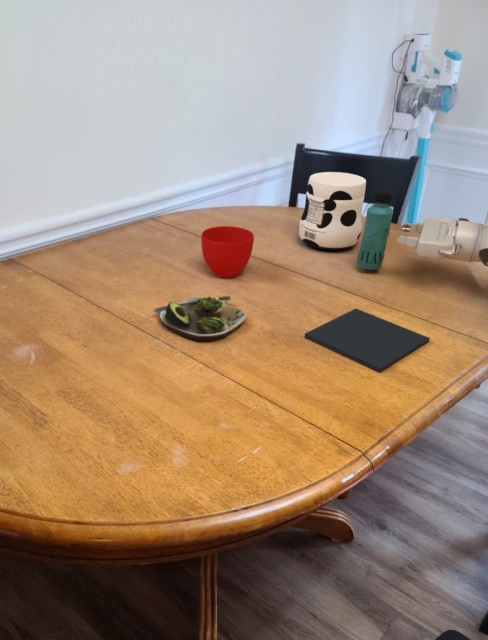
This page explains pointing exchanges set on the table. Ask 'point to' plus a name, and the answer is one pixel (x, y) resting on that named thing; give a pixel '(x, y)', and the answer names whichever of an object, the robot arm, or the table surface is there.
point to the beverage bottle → (375, 232)
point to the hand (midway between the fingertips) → (400, 232)
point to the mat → (367, 339)
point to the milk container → (332, 210)
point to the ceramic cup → (226, 249)
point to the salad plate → (201, 318)
